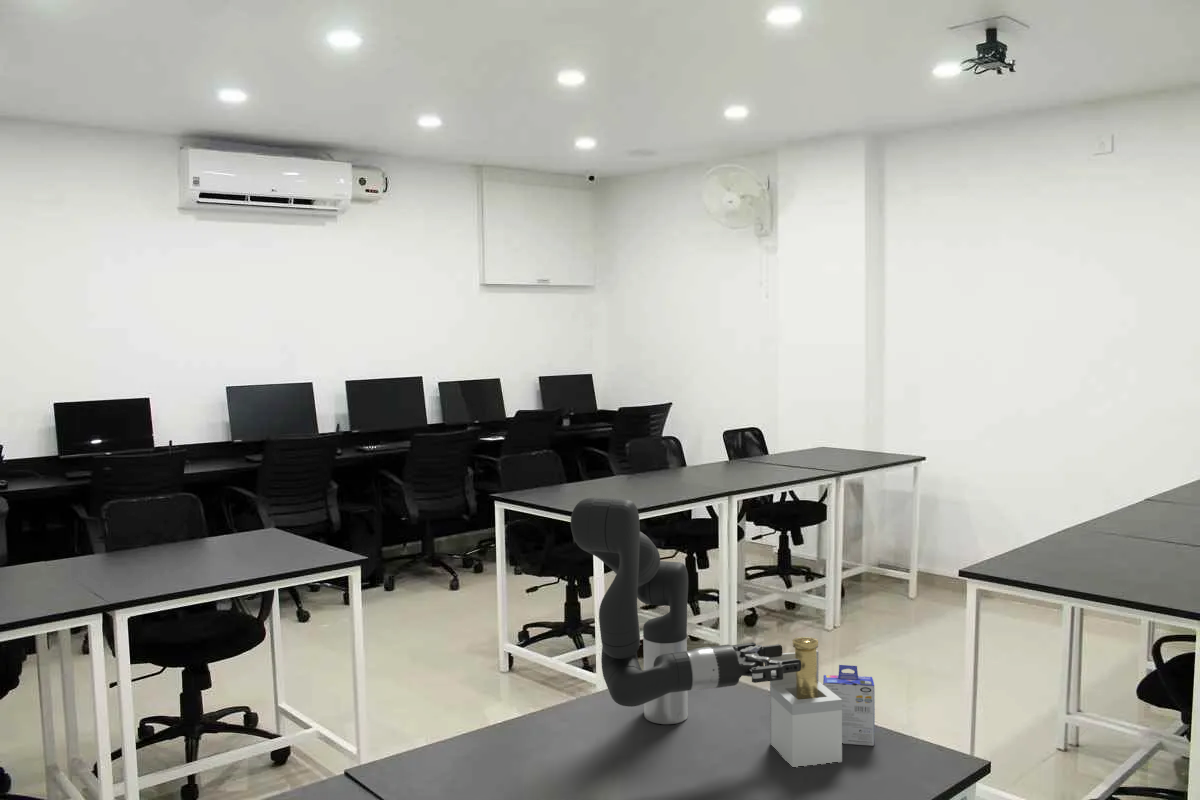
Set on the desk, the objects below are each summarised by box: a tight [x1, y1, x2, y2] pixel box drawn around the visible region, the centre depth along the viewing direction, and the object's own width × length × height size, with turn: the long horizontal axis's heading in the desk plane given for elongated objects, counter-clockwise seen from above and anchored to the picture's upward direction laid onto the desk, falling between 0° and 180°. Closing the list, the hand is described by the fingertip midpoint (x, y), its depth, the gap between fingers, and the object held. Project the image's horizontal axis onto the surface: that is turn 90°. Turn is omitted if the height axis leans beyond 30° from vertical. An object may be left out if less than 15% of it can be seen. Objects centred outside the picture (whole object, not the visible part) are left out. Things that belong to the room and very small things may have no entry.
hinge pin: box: [791, 636, 819, 700], centre depth 178 cm, size 5×5×12 cm
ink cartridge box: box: [822, 664, 876, 747], centre depth 184 cm, size 10×6×14 cm, turn 78°
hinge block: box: [769, 649, 843, 768], centre depth 178 cm, size 11×10×18 cm
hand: (790, 657), depth 177 cm, fingers open, 8 cm apart
